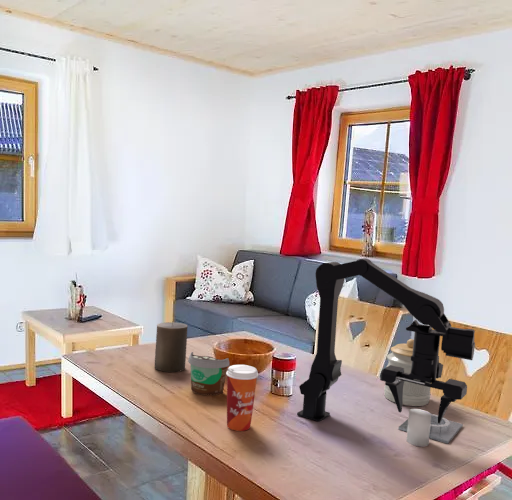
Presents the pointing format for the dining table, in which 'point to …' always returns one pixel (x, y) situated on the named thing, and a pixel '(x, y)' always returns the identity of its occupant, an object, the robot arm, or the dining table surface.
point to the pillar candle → (171, 346)
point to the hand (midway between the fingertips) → (419, 417)
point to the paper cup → (240, 396)
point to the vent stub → (418, 427)
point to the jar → (402, 358)
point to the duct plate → (439, 435)
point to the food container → (207, 374)
